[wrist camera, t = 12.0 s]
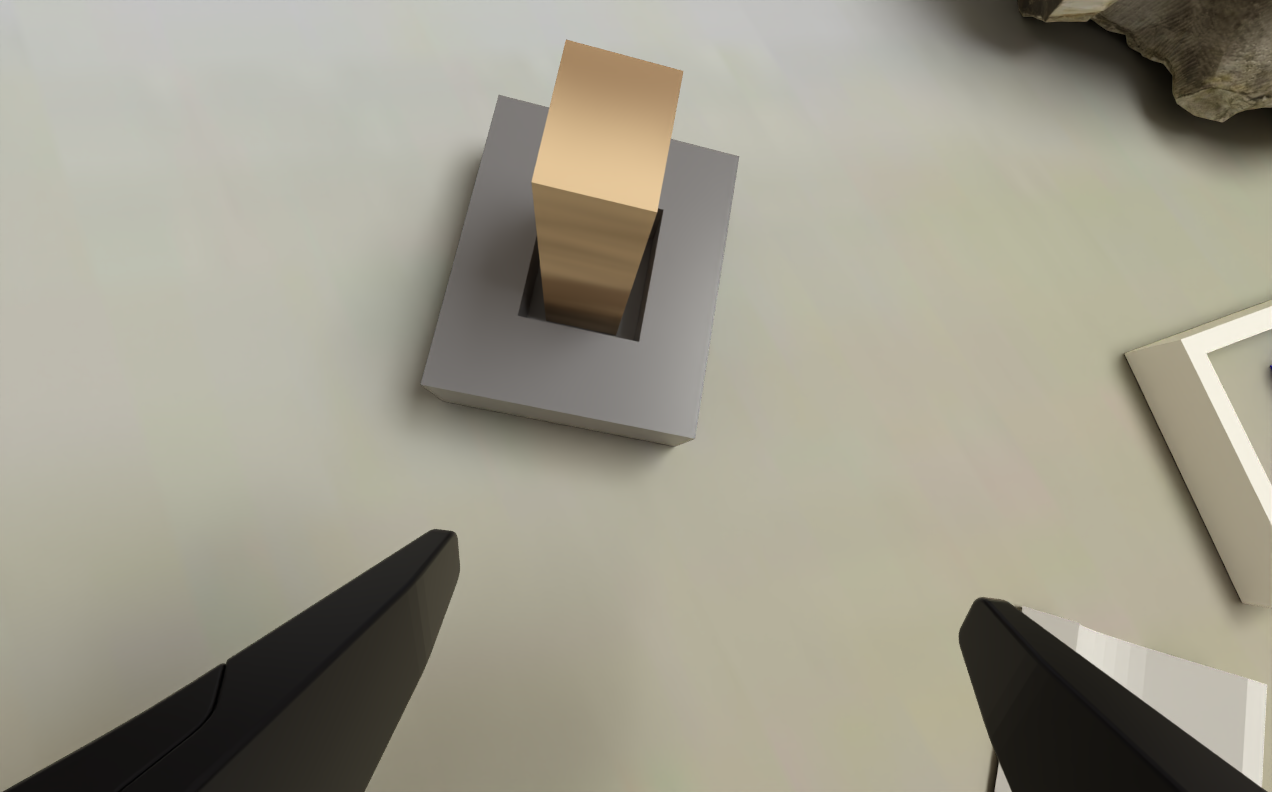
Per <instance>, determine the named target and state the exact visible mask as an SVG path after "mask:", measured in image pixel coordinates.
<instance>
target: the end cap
mask: <svg viewBox="0 0 1272 792" xmlns="http://www.w3.org/2000/svg"><path fill="white" fill-rule="evenodd" d="M548 112H549V108H548V107H544V106H541V105H537V104H533V103H529V102H525V101H521V100H517V99H513V98H509V97H505V96H502V95H499V96H498V100H497V103H496V107H495V111H494V114H493V118H492V122H491V126H490V129H489V133H488V137H487V140H486V144H485V148H484V151H483V155H482V159H481V162H480V166H479V170H478V174H477V177H476V181H475V185H474V188H473V192H472V196H471V199H470V203H469V207H468V211H467V214H466V218H465V222H464V225H463V229H462V233H461V236H460V240H459V244H458V248H457V251H456V255H455V259H454V262H453V266H452V270H451V273H450V277H449V281H448V284H447V288H446V292H445V296H444V299H443V303H442V307H441V310H440V314H439V318H438V321H437V325H436V329H435V333H434V336H433V340H432V344H431V347H430V351H429V355H428V358H427V362H426V366H425V370H424V373H423V377H422V381H421V385H422V386H423V387H425V388H426V389H427V390H429V391H430V392H431V393H433V394H434V395H435V396H437V397H438V398H440V399H441V400H442V401H445V402H450V403H455V404H460V405H465V406H470V407H475V408H481V409H486V410H491V411H496V412H501V413H506V414H511V415H516V416H522V417H527V418H532V419H537V420H542V421H547V422H552V423H557V424H563V425H568V426H573V427H578V428H583V429H588V430H593V431H598V432H604V433H609V434H614V435H619V436H624V437H629V438H634V439H639V440H645V441H650V442H655V443H660V444H665V445H670V446H678V445H680V444H683V443H685V442H688V441H691V440H693V439H695V436H696V430H697V424H698V417H699V411H700V404H701V398H702V391H703V385H704V379H705V372H706V366H707V359H708V353H709V346H710V340H711V334H712V327H713V321H714V314H715V308H716V302H717V295H718V289H719V282H720V276H721V269H722V263H723V257H724V250H725V244H726V237H727V231H728V225H729V218H730V212H731V205H732V199H733V192H734V186H735V180H736V173H737V167H738V160H739V156H736V155H732V154H728V153H724V152H720V151H716V150H712V149H708V148H704V147H700V146H697V145H693V144H689V143H685V142H681V141H677V140H673V139H671V140H670V146H669V151H668V156H667V162H666V167H665V173H664V178H663V183H662V189H661V194H660V200H659V205H658V210H657V214H656V217H655V220H654V223H653V226H652V229H651V232H650V235H649V238H648V241H647V244H646V247H645V250H644V253H643V256H642V259H641V262H640V265H639V268H638V271H637V274H636V277H635V280H634V283H633V286H632V289H631V292H630V295H629V298H628V301H627V304H626V307H625V310H624V313H623V316H622V319H621V322H620V325H619V328H618V331H617V334H616V335H612V334H607V333H602V332H597V331H593V330H588V329H583V328H579V327H574V326H569V325H565V324H560V323H555V322H550V321H546V316H545V306H544V297H543V287H542V278H541V268H540V259H539V249H538V240H537V231H536V221H535V212H534V202H533V193H532V183H531V182H532V178H533V173H534V169H535V165H536V161H537V157H538V153H539V149H540V145H541V141H542V136H543V132H544V128H545V124H546V120H547V116H548Z"/></svg>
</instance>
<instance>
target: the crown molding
mask: <svg viewBox="0 0 1272 792" xmlns="http://www.w3.org/2000/svg"><path fill="white" fill-rule="evenodd" d="M1022 613H1024V614H1025V615H1027V616H1028V617H1029V618H1031V619H1032V620H1033V621H1035V622H1036V623H1037V624H1039V625H1040V626H1042V627H1043V628H1044V629H1046V630H1047V631H1048V632H1050V633H1051V634H1053V635H1054V636H1055V637H1057V638H1058V639H1059V640H1061V641H1062V642H1063V643H1065V644H1066V645H1068V646H1069V647H1070V648H1072V649H1073V650H1074V651H1076V652H1077V653H1078V654H1080V655H1081V656H1083V657H1084V658H1085V659H1087V660H1088V661H1089V662H1091V663H1092V664H1094V665H1095V666H1096V667H1098V668H1099V669H1100V670H1102V671H1103V672H1104V673H1106V674H1107V675H1109V676H1110V677H1111V678H1113V679H1114V680H1115V681H1117V682H1118V683H1119V684H1121V685H1122V686H1124V687H1125V688H1126V689H1128V690H1129V691H1130V692H1132V693H1133V694H1135V695H1136V696H1137V697H1139V698H1140V699H1141V700H1143V701H1144V702H1145V703H1147V704H1148V705H1150V706H1151V707H1152V708H1154V709H1155V710H1156V711H1158V712H1159V713H1160V714H1162V715H1163V716H1165V717H1166V718H1167V719H1169V720H1170V721H1171V722H1173V723H1174V724H1176V725H1177V726H1178V727H1180V728H1181V729H1182V730H1184V731H1185V732H1186V733H1188V734H1189V735H1191V736H1192V737H1193V738H1195V739H1196V740H1197V741H1199V742H1200V743H1201V744H1203V745H1204V746H1206V747H1207V748H1208V749H1210V750H1211V751H1212V752H1214V753H1215V754H1217V755H1218V756H1219V757H1221V758H1222V759H1223V760H1225V761H1226V762H1227V763H1229V764H1230V765H1232V766H1233V767H1234V768H1236V769H1237V770H1238V771H1240V772H1241V773H1243V774H1244V775H1245V776H1247V777H1248V778H1249V779H1251V780H1252V781H1253V782H1255V783H1256V784H1258V785H1259V786H1260V787H1262V773H1263V754H1264V735H1265V715H1266V696H1267V685H1266V684H1263V683H1260V682H1257V681H1254V680H1251V679H1248V678H1245V677H1242V676H1239V675H1235V674H1232V673H1229V672H1225V671H1222V670H1219V669H1215V668H1212V667H1209V666H1206V665H1202V664H1199V663H1196V662H1192V661H1189V660H1186V659H1182V658H1179V657H1176V656H1172V655H1169V654H1166V653H1163V652H1159V651H1156V650H1153V649H1149V648H1146V647H1143V646H1140V645H1136V644H1133V643H1130V642H1127V641H1124V640H1121V639H1117V638H1114V637H1111V636H1108V635H1105V634H1102V633H1099V632H1097V631H1094V630H1091V629H1088V628H1086V627H1084V626H1082V625H1080V624H1079V622H1075V621H1072V620H1069V619H1065V618H1062V617H1059V616H1055V615H1052V614H1048V613H1045V612H1042V611H1038V610H1035V609H1032V608H1028V607H1025V606H1023V608H1022ZM995 792H1012V791H1011V789H1010V787H1009V784H1008V782H1007V780H1006V777H1005V775H1004V772H1003V770H1002V768H1001V765H1000V763H999V766H998V772H997V779H996V785H995Z"/></svg>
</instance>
